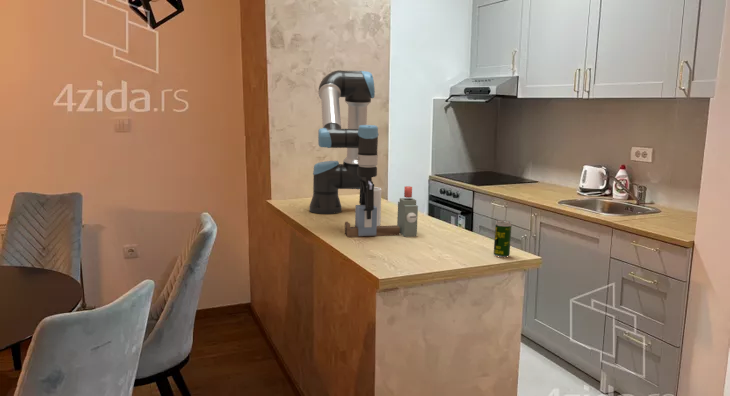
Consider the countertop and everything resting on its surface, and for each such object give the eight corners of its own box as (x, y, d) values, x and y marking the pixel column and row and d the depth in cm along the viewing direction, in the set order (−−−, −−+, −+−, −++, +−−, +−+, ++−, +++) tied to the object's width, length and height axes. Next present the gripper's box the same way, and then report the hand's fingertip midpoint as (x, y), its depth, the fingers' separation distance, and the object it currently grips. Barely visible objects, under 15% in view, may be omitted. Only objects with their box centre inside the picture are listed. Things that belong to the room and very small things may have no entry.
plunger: (403, 196, 219) (403, 186, 219) (410, 196, 220) (410, 186, 220) (405, 197, 217) (405, 187, 216) (412, 197, 217) (413, 187, 217)
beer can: (497, 253, 195) (500, 219, 193) (512, 256, 192) (514, 221, 190) (490, 256, 191) (492, 221, 189) (505, 259, 188) (507, 224, 186)
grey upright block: (396, 230, 225) (397, 197, 223) (409, 230, 226) (410, 197, 224) (404, 237, 215) (406, 202, 212) (417, 236, 216) (419, 201, 214)
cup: (378, 229, 228) (379, 190, 225) (358, 227, 229) (359, 189, 226) (381, 224, 236) (382, 187, 233) (362, 223, 237) (363, 186, 234)
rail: (344, 234, 218) (344, 221, 217) (396, 232, 222) (396, 220, 222) (347, 237, 213) (347, 224, 212) (400, 235, 218) (400, 222, 217)
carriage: (355, 232, 219) (355, 205, 217) (372, 231, 221) (373, 204, 219) (358, 235, 213) (359, 208, 211) (376, 235, 215) (377, 207, 213)
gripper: (352, 163, 221) (351, 220, 225) (363, 169, 202) (361, 231, 206) (370, 163, 223) (369, 219, 227) (383, 169, 204) (381, 230, 208)
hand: (365, 225), depth 216 cm, fingers closed on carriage, 6 cm apart
